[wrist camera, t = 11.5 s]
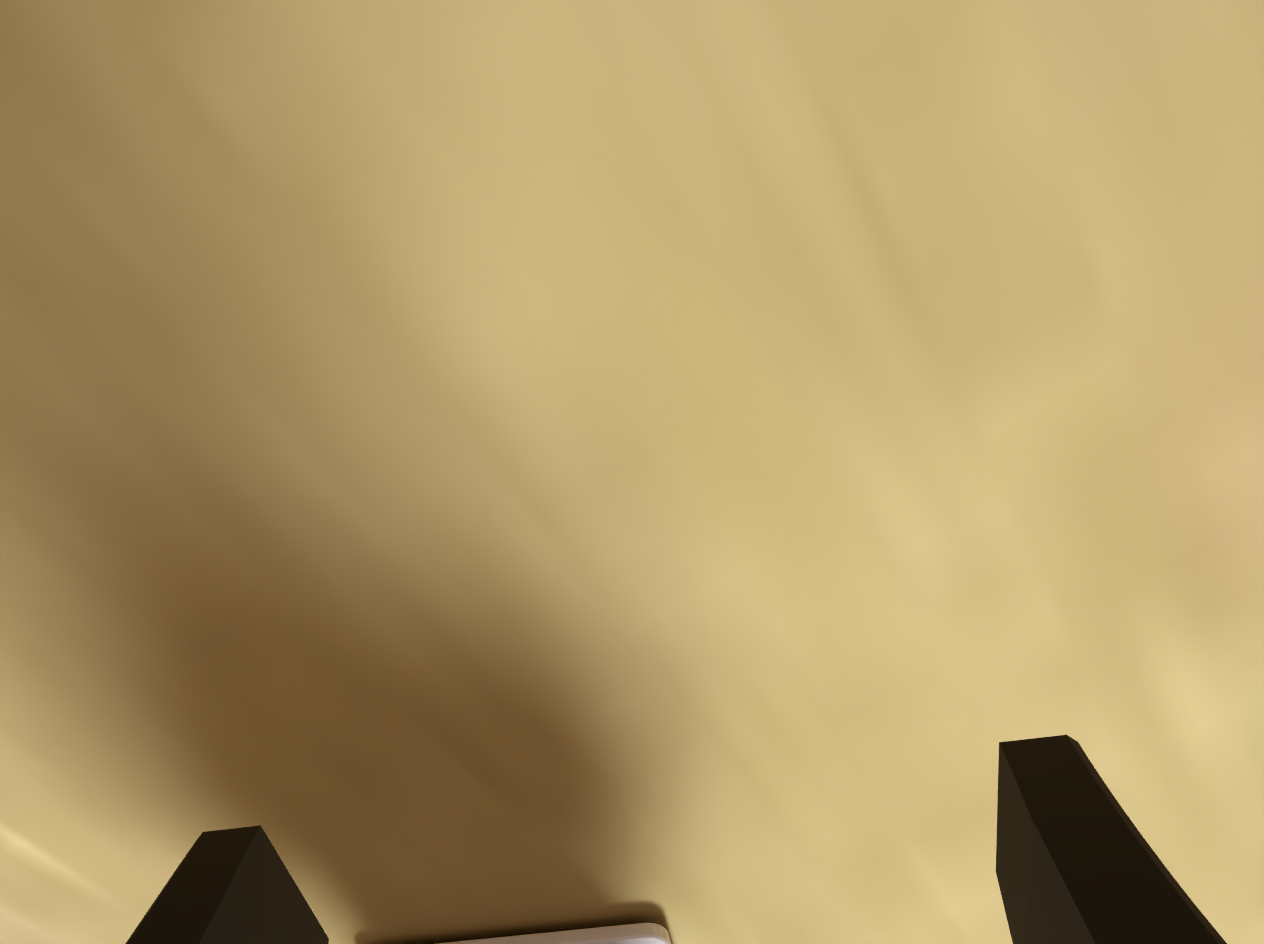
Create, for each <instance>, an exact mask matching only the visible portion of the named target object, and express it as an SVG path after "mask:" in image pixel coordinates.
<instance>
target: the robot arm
mask: <svg viewBox="0 0 1264 944" xmlns="http://www.w3.org/2000/svg"><path fill="white" fill-rule="evenodd" d="M996 874H997V878H998V882H999V886H1000V891H1001V895H1002V899H1003V903H1004V908H1005V912H1006V916H1007V920H1008V924H1009V929H1010V933H1011V937H1012V941H1013V944H1227V943H1226V942H1225V941H1224V940H1223V938H1222V937H1221V936H1220V935H1219V934H1218V932H1217V931H1216V930H1215V929H1214V927H1213V926H1212V925H1211V924H1210V923H1209V921H1208V920H1207V919H1206V918H1205V916H1204V915H1203V914H1202V913H1201V912H1200V910H1199V909H1198V908H1197V907H1196V905H1195V904H1194V903H1193V902H1192V901H1191V899H1190V898H1189V897H1188V895H1187V894H1186V893H1185V892H1184V890H1183V889H1182V888H1181V887H1180V885H1179V884H1178V883H1177V881H1176V880H1175V879H1174V878H1173V876H1172V875H1171V874H1170V872H1169V871H1168V870H1167V868H1166V867H1165V866H1164V864H1163V863H1162V862H1161V860H1160V859H1159V858H1158V856H1157V855H1156V854H1155V852H1154V851H1153V850H1152V848H1151V847H1150V846H1149V844H1148V843H1147V842H1146V840H1145V839H1144V838H1143V836H1142V835H1141V834H1140V832H1139V831H1138V830H1137V828H1136V827H1135V826H1134V824H1133V823H1132V821H1131V820H1130V819H1129V817H1128V816H1127V814H1126V813H1125V812H1124V810H1123V809H1122V808H1121V806H1120V805H1119V803H1118V802H1117V800H1116V799H1115V797H1114V796H1113V795H1112V793H1111V792H1110V790H1109V789H1108V787H1107V786H1106V784H1105V783H1104V781H1103V780H1102V778H1101V777H1100V775H1099V774H1098V772H1097V771H1096V769H1095V768H1094V767H1093V765H1092V763H1091V762H1090V760H1089V759H1088V757H1087V756H1086V754H1085V753H1084V751H1083V749H1082V748H1081V746H1080V745H1079V743H1078V742H1077V741H1075V740H1074V739H1072V738H1071V737H1069V736H1068V735H1061V736H1052V737H1044V738H1035V739H1026V740H1017V741H1008V742H999V772H998V811H997V850H996ZM328 942H329V938H328V937H327V935H326V933H325V932H324V930H323V928H322V927H321V925H320V923H319V922H318V920H317V918H316V917H315V915H314V913H313V912H312V910H311V908H310V907H309V905H308V903H307V902H306V900H305V898H304V897H303V895H302V893H301V892H300V890H299V888H298V887H297V885H296V883H295V882H294V880H293V879H292V877H291V875H290V874H289V872H288V870H287V869H286V867H285V865H284V864H283V862H282V860H281V859H280V857H279V855H278V854H277V852H276V850H275V849H274V847H273V845H272V844H271V842H270V840H269V839H268V837H267V835H266V834H265V832H264V830H263V829H262V827H261V826H253V827H244V828H235V829H226V830H217V831H208V832H203V833H202V834H201V835H200V837H199V838H198V839H197V841H196V842H195V843H194V845H193V846H192V848H191V849H190V851H189V852H188V853H187V855H186V856H185V858H184V859H183V861H182V862H181V863H180V865H179V866H178V868H177V869H176V871H175V872H174V874H173V875H172V876H171V878H170V879H169V881H168V882H167V884H166V885H165V887H164V888H163V890H162V891H161V893H160V894H159V895H158V897H157V898H156V900H155V901H154V903H153V904H152V906H151V907H150V909H149V910H148V912H147V913H146V915H145V916H144V918H143V919H142V920H141V922H140V923H139V925H138V926H137V928H136V929H135V931H134V932H133V934H132V935H131V937H130V938H129V939H128V941H127V942H126V944H328ZM436 944H671V941H670V938H669V934H668V932H667V930H666V929H665V928H664V927H662V926H661V925H659V924H655V923H637V924H627V925H617V926H607V927H597V928H587V929H577V930H567V931H557V932H547V933H537V934H527V935H517V936H507V937H496V938H486V939H476V940H466V941H456V942H446V943H436Z"/></svg>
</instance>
